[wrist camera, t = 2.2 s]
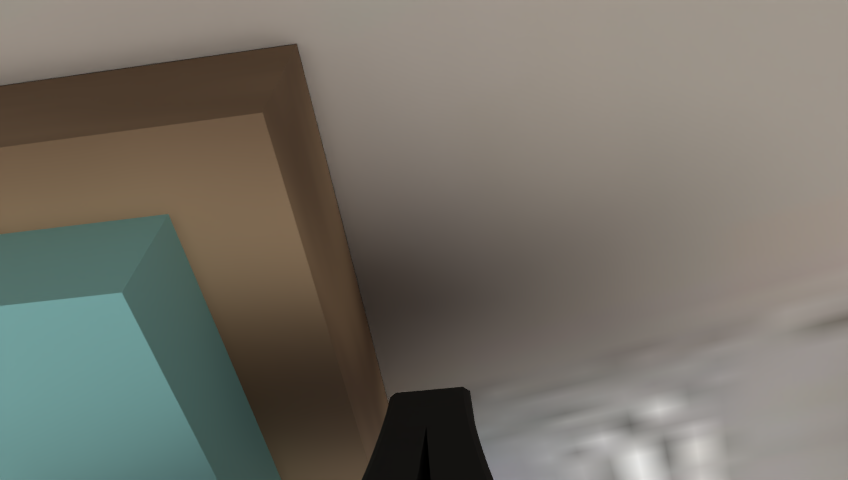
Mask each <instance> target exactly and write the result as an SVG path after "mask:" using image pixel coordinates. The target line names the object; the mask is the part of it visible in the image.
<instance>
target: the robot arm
mask: <svg viewBox="0 0 848 480" xmlns="http://www.w3.org/2000/svg"><path fill="white" fill-rule="evenodd" d="M362 480H493V477H492V475H491V472H490V470H489V467H488V464H487V461H486V459H485V456H484V453H483V450H482V446H481V443H480V440H479V437H478V433H477V430H476V426H475V421H474V415H473V408H472V401H471V395H470V391H469V390H467V389H466V388H464V387H456V388H445V389H434V390H424V391H413V392H402V393H395V394H394V395H393V396H392V397H391V398H390V401H389V405H388V408H387V412H386V415H385V418H384V422H383V425H382V428H381V431H380V434H379V437H378V440H377V442H376V445H375V448H374V450H373V453H372V456H371V458H370V461H369V463H368V466H367V468H366V471H365V473H364V475H363V478H362Z"/></svg>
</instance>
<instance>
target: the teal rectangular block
mask: <svg viewBox="0 0 848 480" xmlns="http://www.w3.org/2000/svg"><path fill="white" fill-rule="evenodd" d="M0 480H281V478H280V475H279V473H278V471H277V468H276V466H275V464H274V461H273V459H272V456H271V454H270V452H269V449H268V447H267V445H266V442H265V440H264V438H263V435H262V433H261V431H260V428H259V426H258V424H257V421H256V419H255V416H254V414H253V412H252V409H251V407H250V405H249V402H248V400H247V398H246V395H245V393H244V391H243V388H242V386H241V384H240V381H239V379H238V377H237V374H236V372H235V369H234V367H233V365H232V362H231V360H230V358H229V355H228V353H227V351H226V348H225V346H224V344H223V341H222V339H221V337H220V334H219V332H218V329H217V327H216V325H215V322H214V320H213V318H212V315H211V313H210V311H209V308H208V306H207V304H206V301H205V299H204V297H203V294H202V292H201V289H200V287H199V285H198V282H197V280H196V278H195V275H194V273H193V271H192V268H191V266H190V264H189V261H188V259H187V257H186V254H185V252H184V249H183V247H182V245H181V242H180V240H179V238H178V235H177V233H176V231H175V228H174V226H173V224H172V221H171V219H170V217H169V214H164V215H156V216H148V217H140V218H131V219H123V220H115V221H106V222H98V223H90V224H81V225H73V226H65V227H56V228H48V229H40V230H32V231H23V232H15V233H7V234H0Z"/></svg>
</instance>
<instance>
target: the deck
mask: <svg viewBox="0 0 848 480" xmlns="http://www.w3.org/2000/svg"><path fill="white" fill-rule="evenodd" d="M164 214H169V217H170V219H171V221H172V224H173V226H174V228H175V231H176V233H177V235H178V238H179V240H180V242H181V245H182V247H183V249H184V252H185V254H186V257H187V259H188V261H189V264H190V266H191V268H192V271H193V273H194V275H195V278H196V280H197V282H198V285H199V287H200V289H201V292H202V294H203V297H204V299H205V301H206V304H207V306H208V308H209V311H210V313H211V315H212V318H213V320H214V322H215V325H216V327H217V329H218V332H219V334H220V337H221V339H222V341H223V344H224V346H225V348H226V351H227V353H228V355H229V358H230V360H231V362H232V365H233V367H234V369H235V372H236V374H237V377H238V379H239V381H240V384H241V386H242V388H243V391H244V393H245V395H246V398H247V400H248V402H249V405H250V407H251V409H252V412H253V414H254V416H255V419H256V421H257V424H258V426H259V428H260V431H261V433H262V435H263V438H264V440H265V442H266V445H267V447H268V449H269V452H270V454H271V456H272V459H273V461H274V464H275V466H276V468H277V471H278V473H279V475H280V478H281V480H362V478H363V475H364V473H365V471H366V468H367V466H368V463H369V461H370V458H371V456H372V453H373V450H374V448H375V445H376V442H377V440H378V437H379V434H380V431H381V428H382V425H383V422H384V418H385V415H386V412H387V408H388V405H389V404H388V400H387V397H386V393H385V389H384V385H383V381H382V377H381V373H380V369H379V365H378V361H377V357H376V353H375V349H374V346H373V342H372V338H371V334H370V330H369V326H368V322H367V318H366V314H365V310H364V306H363V302H362V299H361V295H360V291H359V287H358V283H357V279H356V275H355V271H354V267H353V263H352V259H351V255H350V252H349V248H348V244H347V240H346V236H345V232H344V228H343V224H342V220H341V216H340V212H339V208H338V205H337V201H336V197H335V193H334V189H333V185H332V181H331V177H330V173H329V169H328V165H327V161H326V157H325V154H324V150H323V146H322V142H321V138H320V134H319V130H318V126H317V122H316V118H315V114H314V110H313V107H312V103H311V99H310V95H309V91H308V87H307V83H306V79H305V75H304V71H303V67H302V63H301V60H300V56H299V52H298V48H297V44H294V45H287V46H280V47H273V48H266V49H259V50H252V51H245V52H238V53H231V54H224V55H217V56H210V57H202V58H195V59H188V60H181V61H174V62H167V63H160V64H153V65H146V66H139V67H132V68H125V69H118V70H111V71H104V72H97V73H90V74H82V75H75V76H68V77H61V78H54V79H47V80H40V81H33V82H26V83H19V84H12V85H5V86H0V234H7V233H15V232H23V231H32V230H40V229H48V228H56V227H65V226H73V225H81V224H90V223H98V222H106V221H115V220H123V219H131V218H140V217H148V216H156V215H164Z"/></svg>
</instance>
